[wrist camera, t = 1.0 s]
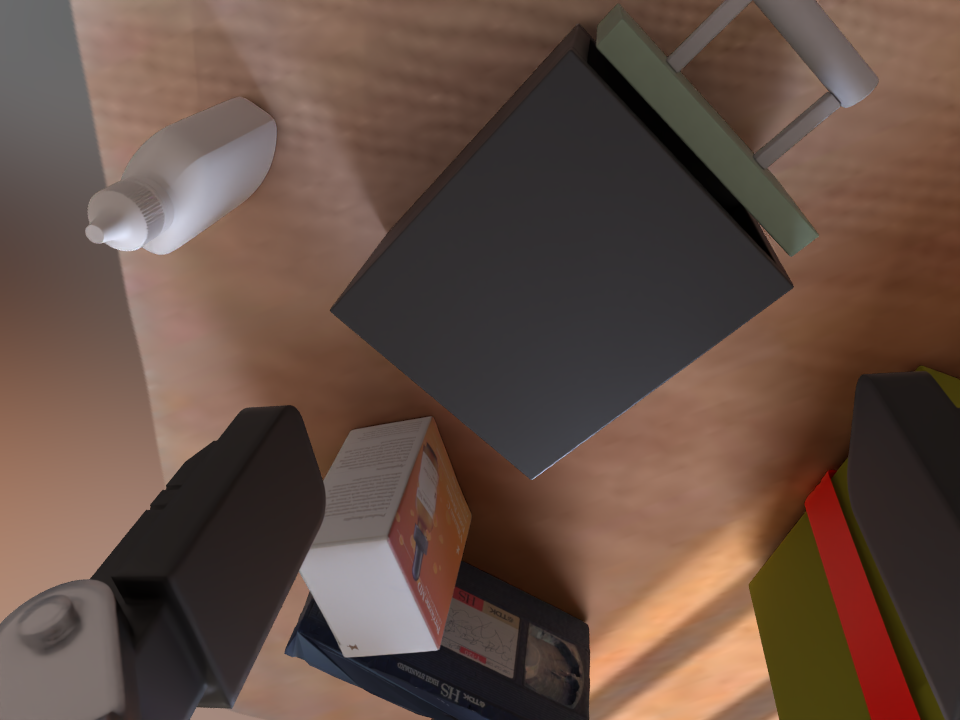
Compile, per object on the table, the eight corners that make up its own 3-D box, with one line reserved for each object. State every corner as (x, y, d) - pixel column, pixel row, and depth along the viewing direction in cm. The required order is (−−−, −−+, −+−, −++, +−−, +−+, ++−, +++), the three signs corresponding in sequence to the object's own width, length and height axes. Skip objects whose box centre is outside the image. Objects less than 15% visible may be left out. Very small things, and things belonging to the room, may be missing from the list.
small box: (473, 515, 46) (442, 654, 37) (393, 525, 47) (343, 662, 38) (434, 411, 42) (388, 538, 33) (348, 426, 44) (282, 551, 35)
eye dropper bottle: (171, 136, 36) (0, 212, 26) (257, 84, 34) (109, 143, 24) (223, 213, 38) (81, 313, 28) (307, 167, 36) (189, 256, 26)
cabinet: (578, 22, 31) (570, 48, 23) (750, 208, 34) (795, 287, 26) (386, 234, 37) (328, 311, 29) (545, 376, 40) (531, 481, 32)
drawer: (711, -98, 27) (743, -112, 21) (873, 100, 30) (945, 140, 24) (425, 210, 35) (387, 267, 29) (573, 347, 38) (568, 427, 31)
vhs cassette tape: (593, 624, 49) (591, 767, 40) (569, 647, 50) (562, 789, 42) (354, 500, 47) (298, 624, 38) (336, 528, 48) (279, 653, 40)
